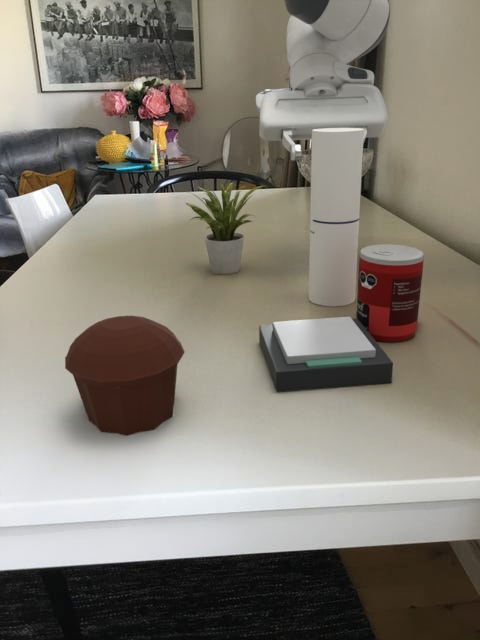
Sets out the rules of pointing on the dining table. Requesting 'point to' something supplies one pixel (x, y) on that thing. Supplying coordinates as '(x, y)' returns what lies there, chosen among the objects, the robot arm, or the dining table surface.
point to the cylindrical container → (334, 214)
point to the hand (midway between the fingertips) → (326, 156)
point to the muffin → (126, 373)
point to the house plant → (224, 229)
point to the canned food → (389, 291)
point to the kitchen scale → (322, 354)
